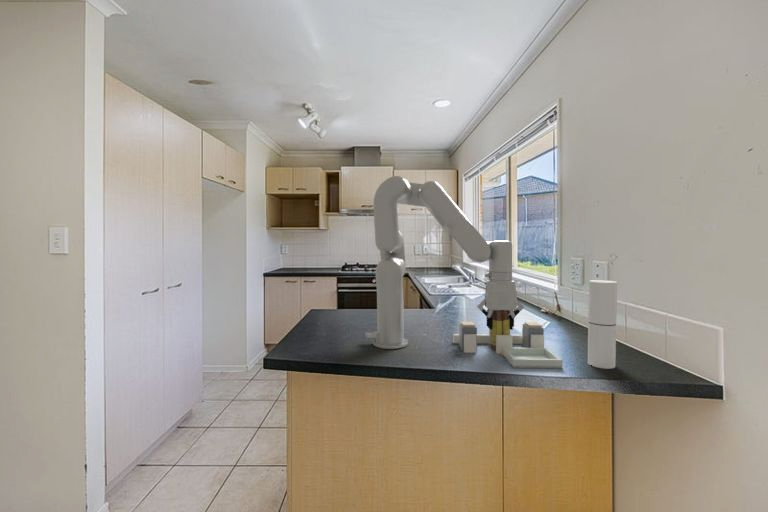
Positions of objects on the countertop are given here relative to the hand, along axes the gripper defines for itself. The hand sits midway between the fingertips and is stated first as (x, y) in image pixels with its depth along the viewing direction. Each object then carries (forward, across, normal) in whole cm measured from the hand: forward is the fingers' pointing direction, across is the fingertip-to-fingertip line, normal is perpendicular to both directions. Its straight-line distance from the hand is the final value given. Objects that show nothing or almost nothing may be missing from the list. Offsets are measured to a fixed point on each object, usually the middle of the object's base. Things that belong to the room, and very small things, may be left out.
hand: (500, 328), depth 125 cm
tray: (+7, +6, -13) cm, 16 cm away
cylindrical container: (+7, +26, -15) cm, 31 cm away
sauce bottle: (+7, 0, 0) cm, 7 cm away
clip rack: (+7, 0, 0) cm, 7 cm away
